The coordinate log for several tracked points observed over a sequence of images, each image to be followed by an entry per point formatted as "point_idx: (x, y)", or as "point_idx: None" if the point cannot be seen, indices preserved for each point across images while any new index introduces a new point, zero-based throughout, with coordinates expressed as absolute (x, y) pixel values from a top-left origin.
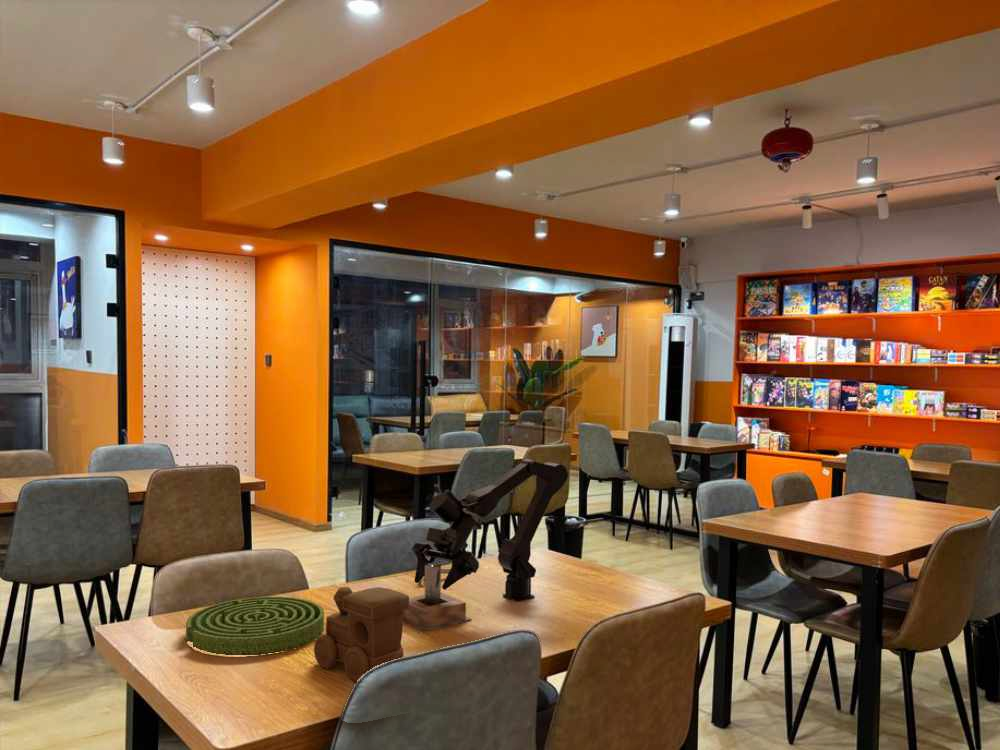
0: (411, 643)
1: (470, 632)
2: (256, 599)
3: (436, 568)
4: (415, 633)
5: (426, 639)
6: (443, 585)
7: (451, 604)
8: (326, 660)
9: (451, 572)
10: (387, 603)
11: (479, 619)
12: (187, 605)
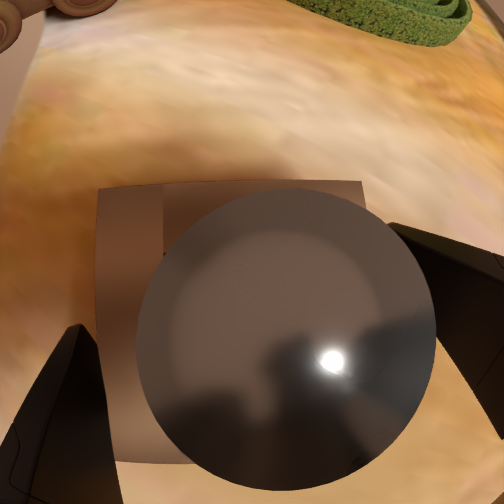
0: (57, 123)
1: (15, 351)
2: (463, 1)
3: (145, 339)
4: (117, 169)
5: (48, 176)
6: (69, 335)
7: (122, 383)
8: None
9: (9, 449)
10: None
11: (121, 474)
12: (490, 11)
